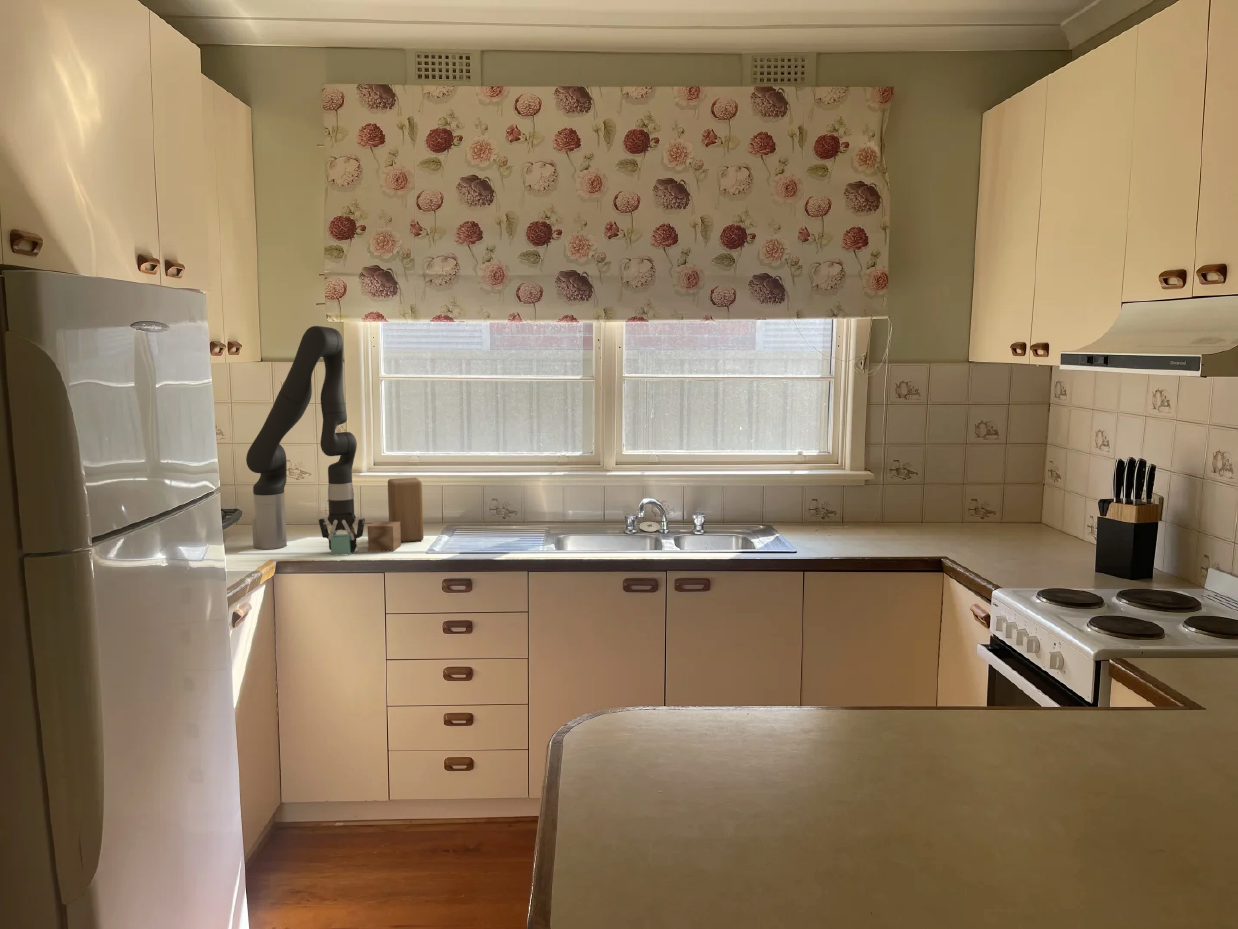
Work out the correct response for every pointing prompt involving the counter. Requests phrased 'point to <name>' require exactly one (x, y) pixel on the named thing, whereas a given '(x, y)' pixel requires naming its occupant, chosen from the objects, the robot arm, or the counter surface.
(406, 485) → the block
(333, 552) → the teal cube
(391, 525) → the walnut block
